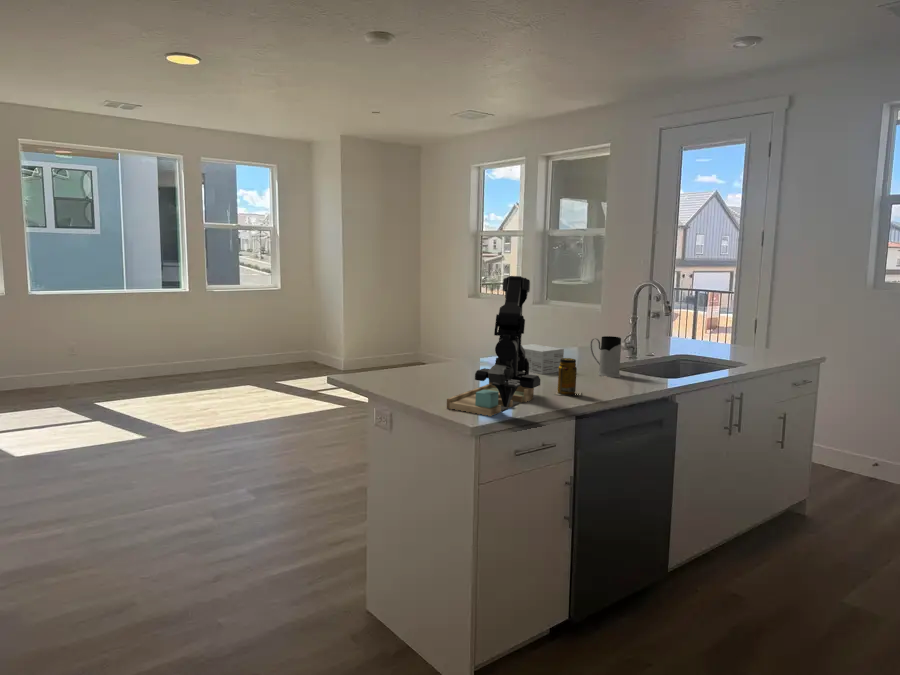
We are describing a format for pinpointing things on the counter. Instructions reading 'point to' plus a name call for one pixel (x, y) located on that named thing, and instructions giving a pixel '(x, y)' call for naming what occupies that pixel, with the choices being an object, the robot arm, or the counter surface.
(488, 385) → the tray
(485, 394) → the block
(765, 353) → the counter surface
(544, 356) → the supplement box
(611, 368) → the black and white mug
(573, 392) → the condiment
